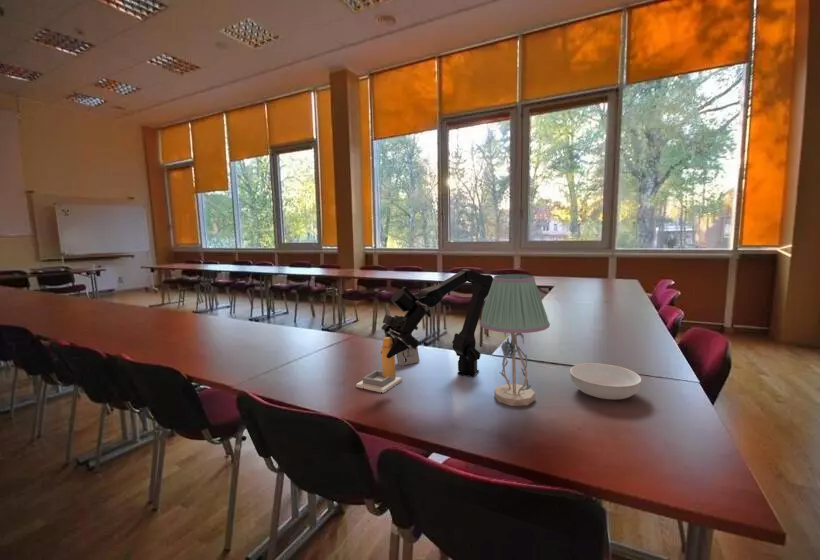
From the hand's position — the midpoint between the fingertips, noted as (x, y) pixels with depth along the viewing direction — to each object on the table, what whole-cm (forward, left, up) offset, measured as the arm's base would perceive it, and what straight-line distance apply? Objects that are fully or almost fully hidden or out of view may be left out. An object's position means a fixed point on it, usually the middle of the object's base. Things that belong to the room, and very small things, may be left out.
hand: (384, 355), depth 133 cm
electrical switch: (+10, -30, -14) cm, 35 cm away
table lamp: (-40, -16, -14) cm, 45 cm away
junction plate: (+7, -6, -14) cm, 16 cm away
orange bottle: (-1, -1, -7) cm, 7 cm away
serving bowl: (-65, -32, -14) cm, 74 cm away
